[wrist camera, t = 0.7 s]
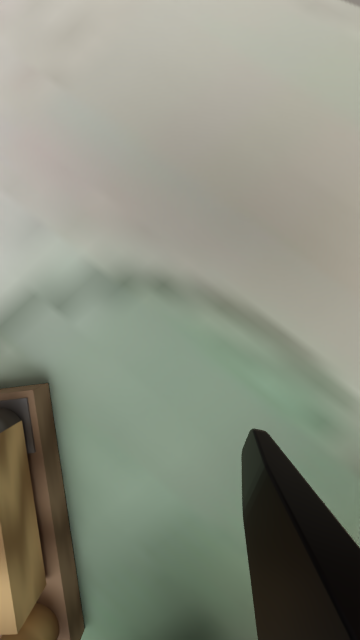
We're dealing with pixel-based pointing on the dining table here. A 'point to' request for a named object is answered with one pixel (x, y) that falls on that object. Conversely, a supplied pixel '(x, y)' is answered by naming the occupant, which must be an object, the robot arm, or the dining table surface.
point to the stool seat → (47, 520)
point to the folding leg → (17, 529)
